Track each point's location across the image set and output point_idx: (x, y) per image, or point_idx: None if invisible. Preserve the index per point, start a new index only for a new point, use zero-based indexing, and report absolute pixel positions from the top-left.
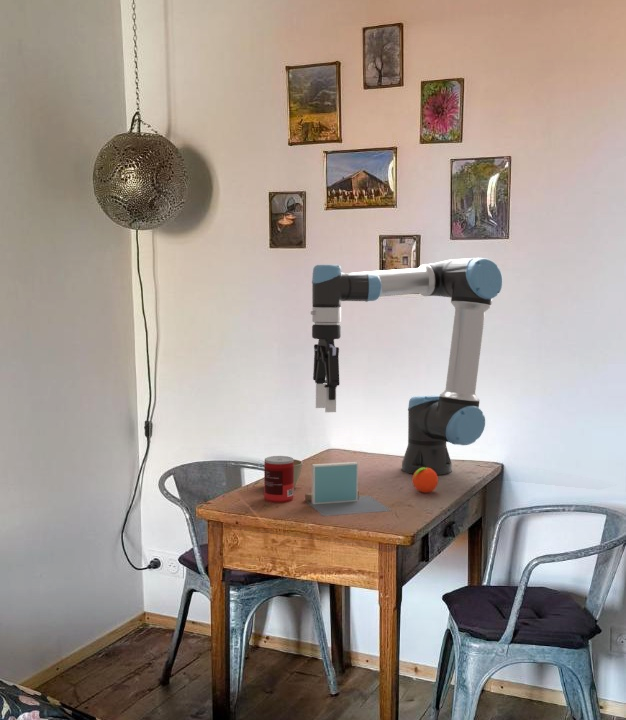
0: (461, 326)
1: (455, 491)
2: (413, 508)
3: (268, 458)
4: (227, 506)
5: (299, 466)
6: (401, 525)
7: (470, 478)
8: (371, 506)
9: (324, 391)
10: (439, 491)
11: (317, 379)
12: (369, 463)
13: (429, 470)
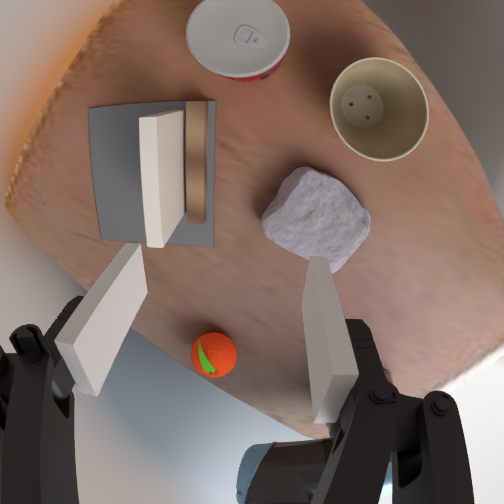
0: None
1: None
2: None
3: (264, 5)
4: None
5: (339, 136)
6: (39, 220)
7: (278, 410)
8: (131, 217)
9: (312, 369)
10: None
11: (353, 416)
12: (443, 339)
13: (199, 370)
